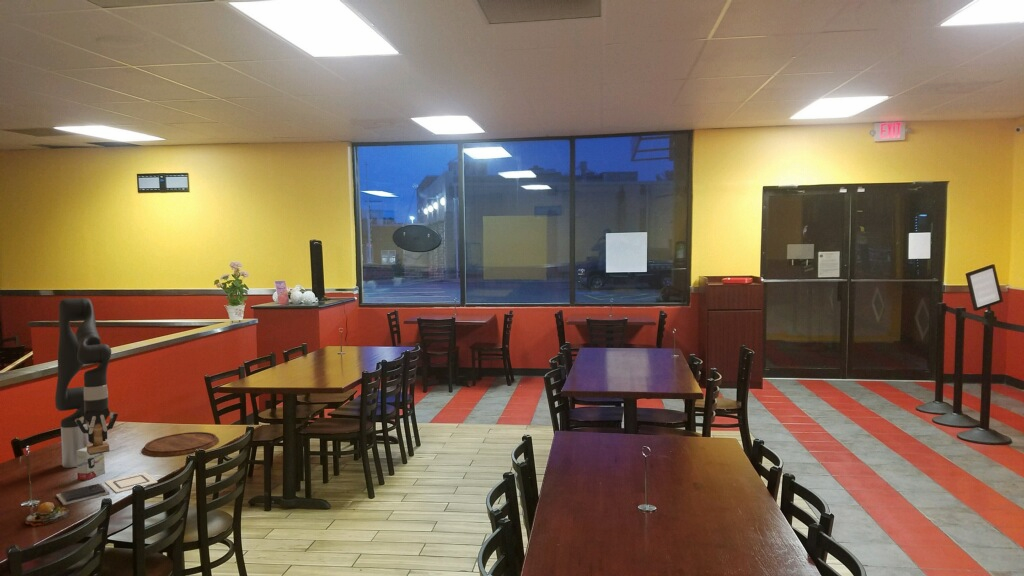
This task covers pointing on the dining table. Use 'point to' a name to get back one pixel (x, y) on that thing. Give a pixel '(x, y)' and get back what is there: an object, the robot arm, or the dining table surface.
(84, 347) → the robot arm
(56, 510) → the burger
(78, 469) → the ink box
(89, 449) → the stamp
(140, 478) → the paper sheet
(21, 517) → the dining table surface
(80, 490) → the ink pad
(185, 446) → the cutting board
